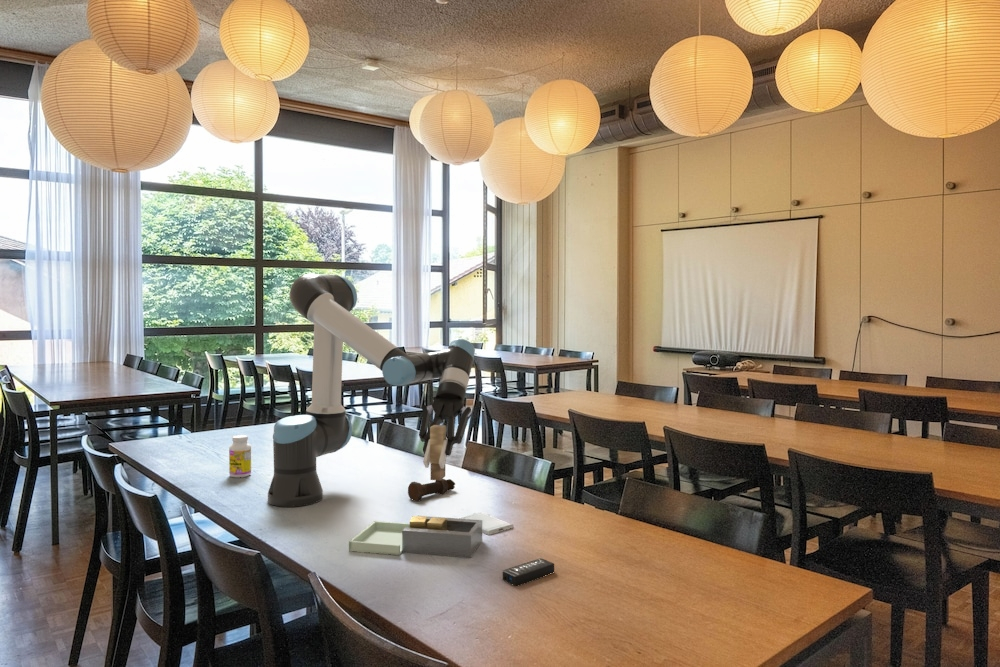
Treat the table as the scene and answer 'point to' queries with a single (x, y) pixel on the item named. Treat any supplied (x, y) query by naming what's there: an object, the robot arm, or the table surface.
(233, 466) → the supplement bottle
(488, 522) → the hard drive
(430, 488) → the bolt
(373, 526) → the tray
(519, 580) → the multiport hub
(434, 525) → the tan wooden block
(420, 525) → the light wood block
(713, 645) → the table surface
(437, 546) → the gray open box
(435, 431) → the tan wooden pedestal block
